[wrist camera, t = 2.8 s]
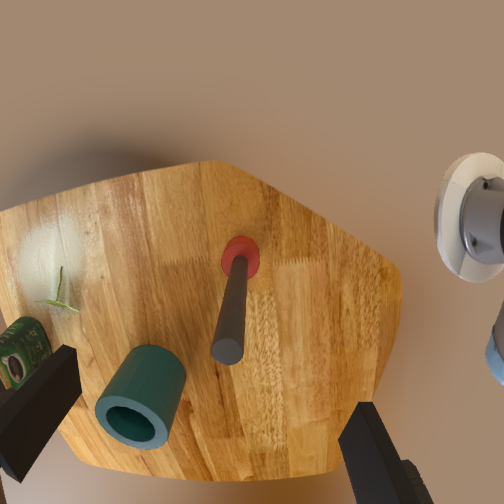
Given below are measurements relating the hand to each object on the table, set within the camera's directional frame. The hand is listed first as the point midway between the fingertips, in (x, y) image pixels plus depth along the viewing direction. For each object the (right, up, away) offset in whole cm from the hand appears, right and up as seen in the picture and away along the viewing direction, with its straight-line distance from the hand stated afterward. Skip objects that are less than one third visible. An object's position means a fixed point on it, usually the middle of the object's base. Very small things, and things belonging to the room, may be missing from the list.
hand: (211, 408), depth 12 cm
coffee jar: (-39, -9, +31) cm, 51 cm away
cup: (-14, -12, +32) cm, 37 cm away
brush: (0, +7, +27) cm, 28 cm away
